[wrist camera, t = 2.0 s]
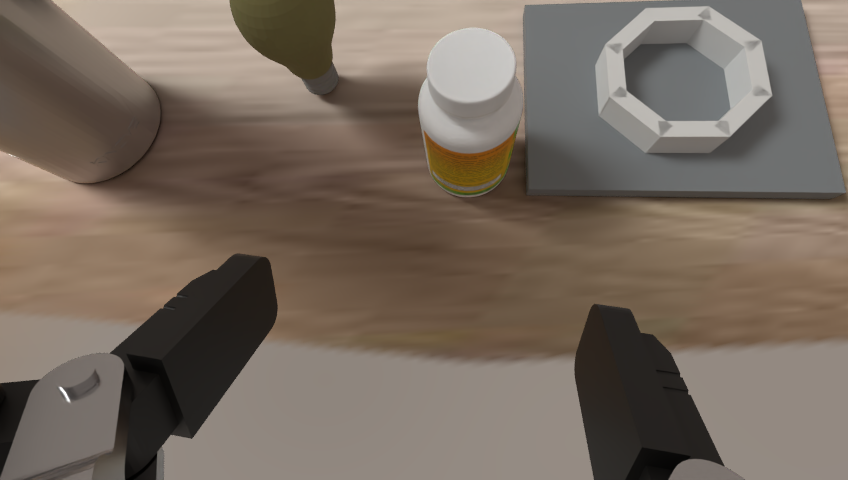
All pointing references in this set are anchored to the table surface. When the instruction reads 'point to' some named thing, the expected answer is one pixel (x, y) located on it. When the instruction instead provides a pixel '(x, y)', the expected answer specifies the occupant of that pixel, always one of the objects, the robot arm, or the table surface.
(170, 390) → the robot arm
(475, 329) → the table surface
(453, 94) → the supplement bottle
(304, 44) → the light bulb
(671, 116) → the collar plate
